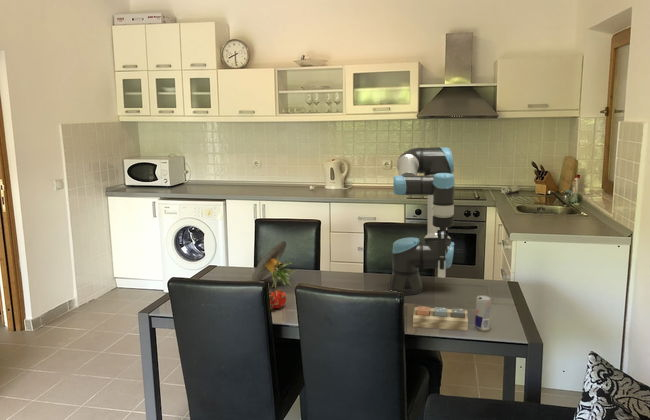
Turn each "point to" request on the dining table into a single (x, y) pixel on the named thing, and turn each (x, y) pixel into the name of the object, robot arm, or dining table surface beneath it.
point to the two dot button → (457, 313)
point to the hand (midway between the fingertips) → (441, 272)
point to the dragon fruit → (277, 299)
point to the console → (440, 320)
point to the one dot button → (423, 310)
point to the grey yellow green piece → (273, 265)
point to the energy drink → (483, 313)
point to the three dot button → (440, 312)
